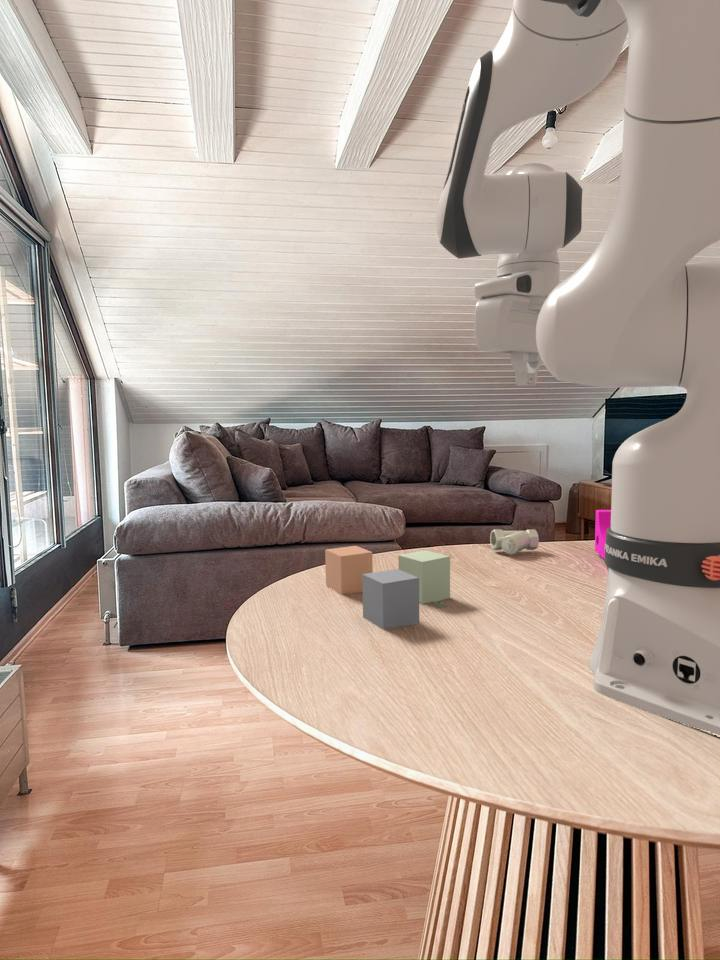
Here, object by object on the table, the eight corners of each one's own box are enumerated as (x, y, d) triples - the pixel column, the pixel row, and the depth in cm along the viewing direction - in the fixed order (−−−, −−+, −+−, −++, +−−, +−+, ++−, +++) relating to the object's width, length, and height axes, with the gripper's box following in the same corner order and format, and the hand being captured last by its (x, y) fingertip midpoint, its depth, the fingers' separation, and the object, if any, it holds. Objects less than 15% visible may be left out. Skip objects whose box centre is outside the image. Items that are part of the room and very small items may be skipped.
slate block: (419, 626, 77) (419, 577, 77) (383, 633, 75) (382, 583, 74) (397, 615, 82) (397, 568, 81) (363, 621, 79) (362, 574, 79)
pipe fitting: (503, 536, 112) (490, 527, 118) (502, 557, 112) (489, 547, 119) (547, 536, 113) (532, 527, 119) (545, 557, 113) (530, 547, 120)
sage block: (450, 599, 88) (450, 556, 87) (422, 606, 85) (422, 561, 84) (425, 591, 92) (425, 550, 91) (398, 597, 89) (398, 555, 89)
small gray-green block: (447, 607, 84) (447, 606, 84) (440, 608, 84) (440, 607, 84) (438, 603, 86) (438, 602, 86) (431, 604, 85) (431, 603, 85)
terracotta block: (372, 593, 91) (372, 552, 91) (341, 598, 89) (340, 556, 88) (356, 585, 96) (355, 545, 95) (326, 590, 93) (325, 549, 93)
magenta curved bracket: (658, 572, 101) (660, 525, 100) (617, 571, 102) (619, 524, 101) (630, 550, 116) (631, 509, 115) (594, 550, 117) (595, 509, 116)
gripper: (546, 299, 102) (545, 386, 104) (466, 284, 88) (466, 385, 90) (583, 293, 97) (581, 385, 99) (505, 276, 84) (504, 383, 85)
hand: (526, 385), depth 94 cm, fingers closed
